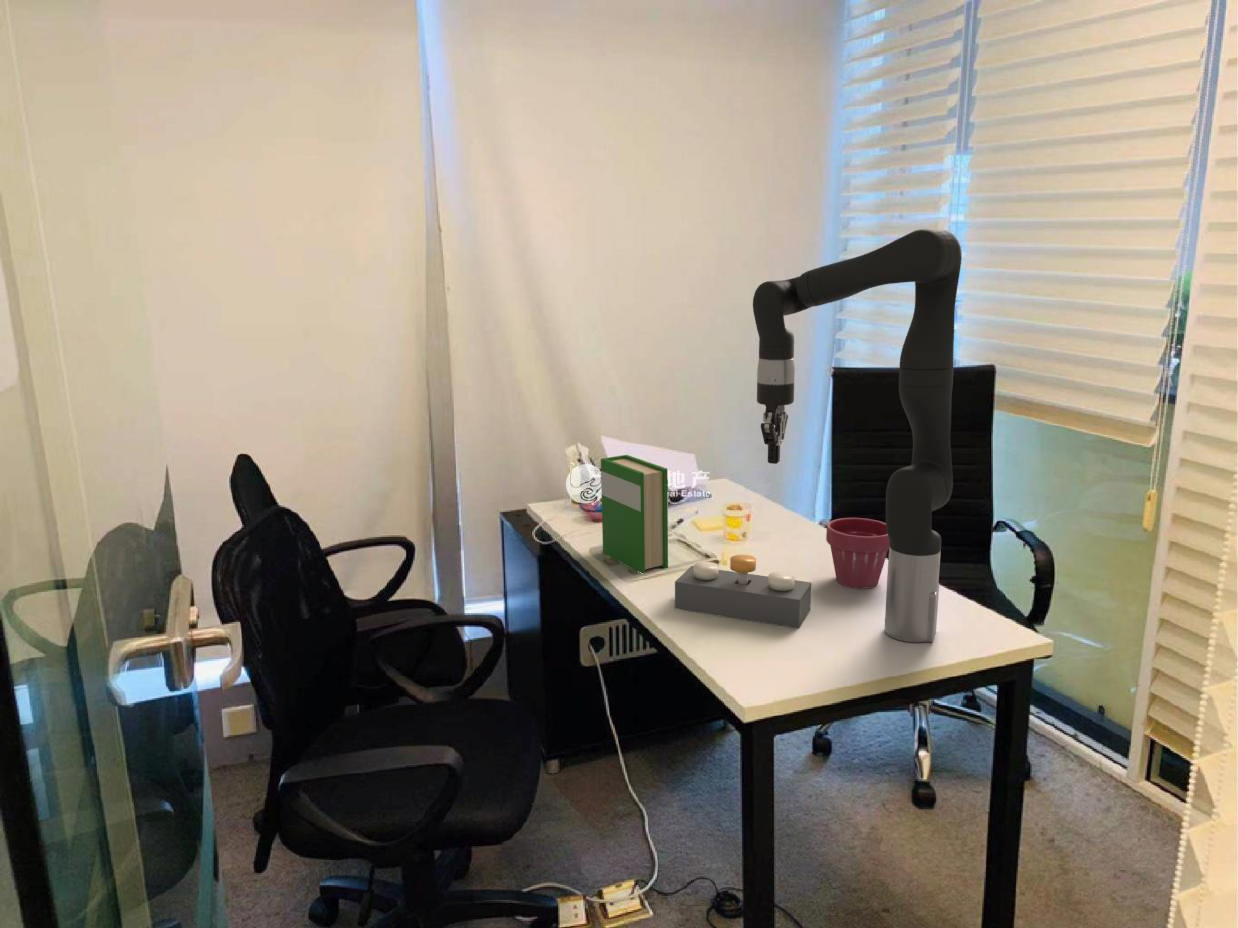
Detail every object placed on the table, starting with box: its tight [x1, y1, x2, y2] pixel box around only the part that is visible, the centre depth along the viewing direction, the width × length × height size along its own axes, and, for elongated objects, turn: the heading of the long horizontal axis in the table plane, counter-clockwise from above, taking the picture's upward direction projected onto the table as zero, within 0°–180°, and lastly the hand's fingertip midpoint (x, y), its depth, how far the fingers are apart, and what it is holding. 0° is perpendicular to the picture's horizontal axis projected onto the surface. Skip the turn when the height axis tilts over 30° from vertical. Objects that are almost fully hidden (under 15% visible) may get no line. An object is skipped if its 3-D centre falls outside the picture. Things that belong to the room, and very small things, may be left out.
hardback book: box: [600, 454, 669, 574], centre depth 209 cm, size 18×7×24 cm, turn 31°
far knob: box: [692, 561, 719, 580], centre depth 184 cm, size 5×5×7 cm
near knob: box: [767, 571, 796, 591], centre depth 177 cm, size 5×5×7 cm
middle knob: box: [729, 554, 757, 585], centre depth 180 cm, size 5×5×7 cm
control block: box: [674, 565, 812, 629], centre depth 181 cm, size 26×10×6 cm, turn 65°
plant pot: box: [825, 517, 889, 589], centre depth 194 cm, size 14×14×13 cm
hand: (773, 462), depth 183 cm, fingers closed
